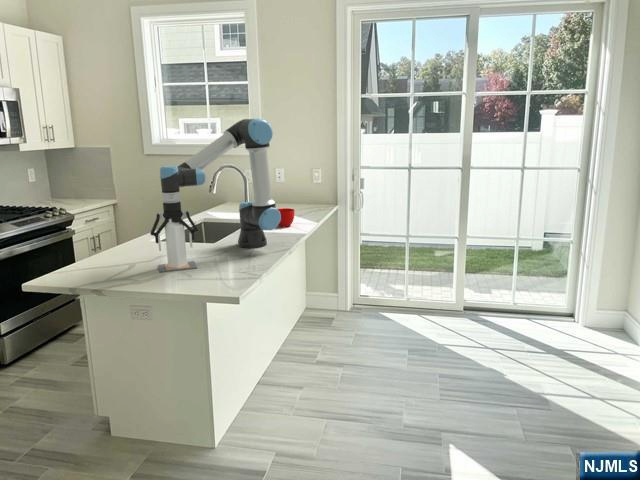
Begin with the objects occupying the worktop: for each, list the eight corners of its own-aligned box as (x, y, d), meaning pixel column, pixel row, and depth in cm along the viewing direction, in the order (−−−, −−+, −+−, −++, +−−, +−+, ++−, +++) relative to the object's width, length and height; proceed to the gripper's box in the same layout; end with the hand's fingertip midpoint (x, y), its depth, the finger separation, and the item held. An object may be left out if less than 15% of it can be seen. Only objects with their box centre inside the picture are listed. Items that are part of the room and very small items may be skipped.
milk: (168, 267, 227) (163, 218, 222) (177, 263, 232) (172, 216, 227) (178, 268, 224) (173, 219, 219) (187, 264, 229) (183, 217, 224)
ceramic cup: (297, 222, 321) (296, 207, 318) (293, 228, 304) (292, 212, 302) (277, 222, 322) (276, 207, 320) (272, 228, 306) (271, 212, 303)
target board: (193, 262, 236) (193, 260, 236) (197, 268, 226) (196, 266, 226) (158, 266, 230) (158, 264, 230) (159, 272, 220) (159, 271, 220)
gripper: (141, 205, 213) (146, 253, 218) (201, 200, 222) (205, 247, 227) (141, 202, 220) (146, 249, 225) (199, 198, 229) (202, 243, 234)
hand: (175, 248), depth 226 cm, fingers open, 13 cm apart
